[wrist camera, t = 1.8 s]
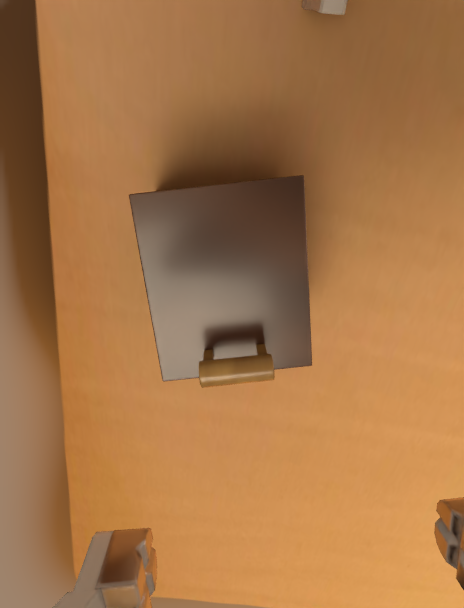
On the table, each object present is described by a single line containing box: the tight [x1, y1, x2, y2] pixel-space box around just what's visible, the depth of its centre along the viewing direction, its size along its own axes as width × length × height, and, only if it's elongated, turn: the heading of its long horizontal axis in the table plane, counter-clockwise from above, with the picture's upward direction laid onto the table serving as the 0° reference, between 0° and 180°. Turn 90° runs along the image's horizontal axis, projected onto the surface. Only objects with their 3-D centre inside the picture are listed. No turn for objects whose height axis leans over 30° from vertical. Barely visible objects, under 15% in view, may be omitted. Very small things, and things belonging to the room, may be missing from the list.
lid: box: [129, 175, 312, 388], centre depth 26 cm, size 14×12×5 cm
